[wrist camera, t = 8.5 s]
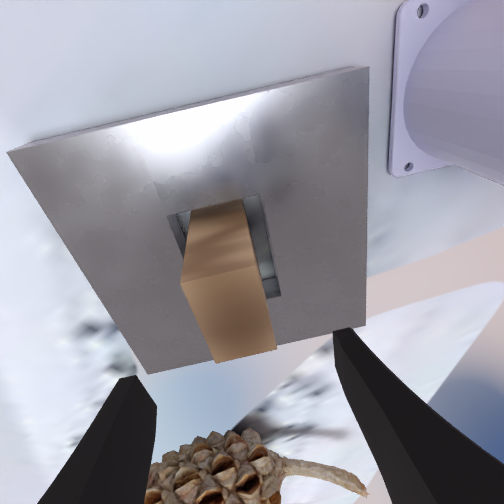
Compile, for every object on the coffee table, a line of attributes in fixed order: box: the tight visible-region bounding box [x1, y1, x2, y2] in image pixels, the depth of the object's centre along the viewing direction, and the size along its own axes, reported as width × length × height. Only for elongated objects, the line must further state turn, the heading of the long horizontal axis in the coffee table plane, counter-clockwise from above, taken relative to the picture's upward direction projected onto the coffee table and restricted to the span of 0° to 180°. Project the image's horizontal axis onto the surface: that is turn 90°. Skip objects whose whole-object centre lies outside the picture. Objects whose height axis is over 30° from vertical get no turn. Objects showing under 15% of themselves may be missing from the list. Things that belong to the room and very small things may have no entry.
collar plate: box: [6, 67, 369, 374], centre depth 18 cm, size 16×16×2 cm
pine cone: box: [144, 428, 369, 504], centre depth 27 cm, size 22×10×10 cm, turn 86°
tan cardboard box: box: [180, 198, 277, 363], centre depth 16 cm, size 3×5×7 cm, turn 12°
